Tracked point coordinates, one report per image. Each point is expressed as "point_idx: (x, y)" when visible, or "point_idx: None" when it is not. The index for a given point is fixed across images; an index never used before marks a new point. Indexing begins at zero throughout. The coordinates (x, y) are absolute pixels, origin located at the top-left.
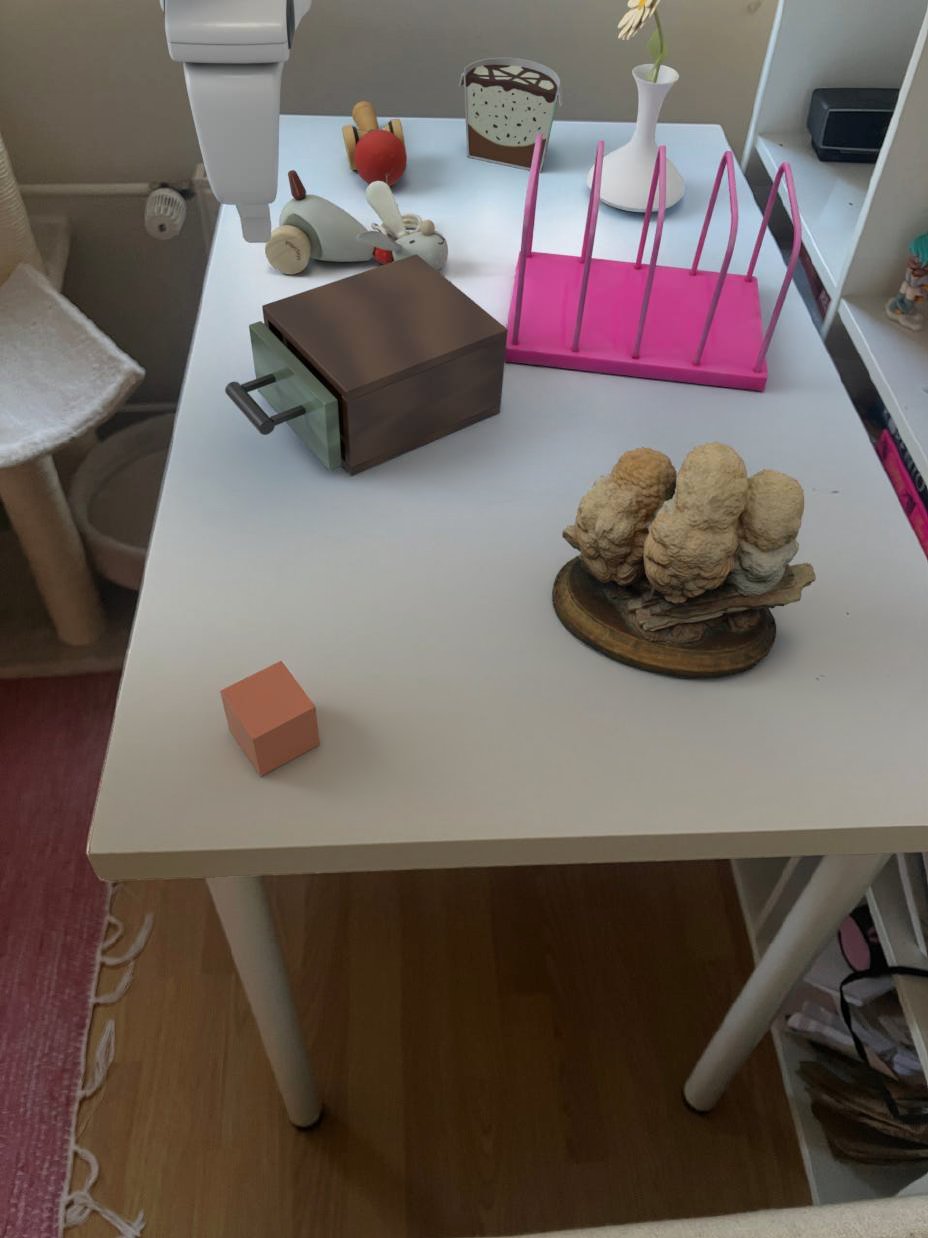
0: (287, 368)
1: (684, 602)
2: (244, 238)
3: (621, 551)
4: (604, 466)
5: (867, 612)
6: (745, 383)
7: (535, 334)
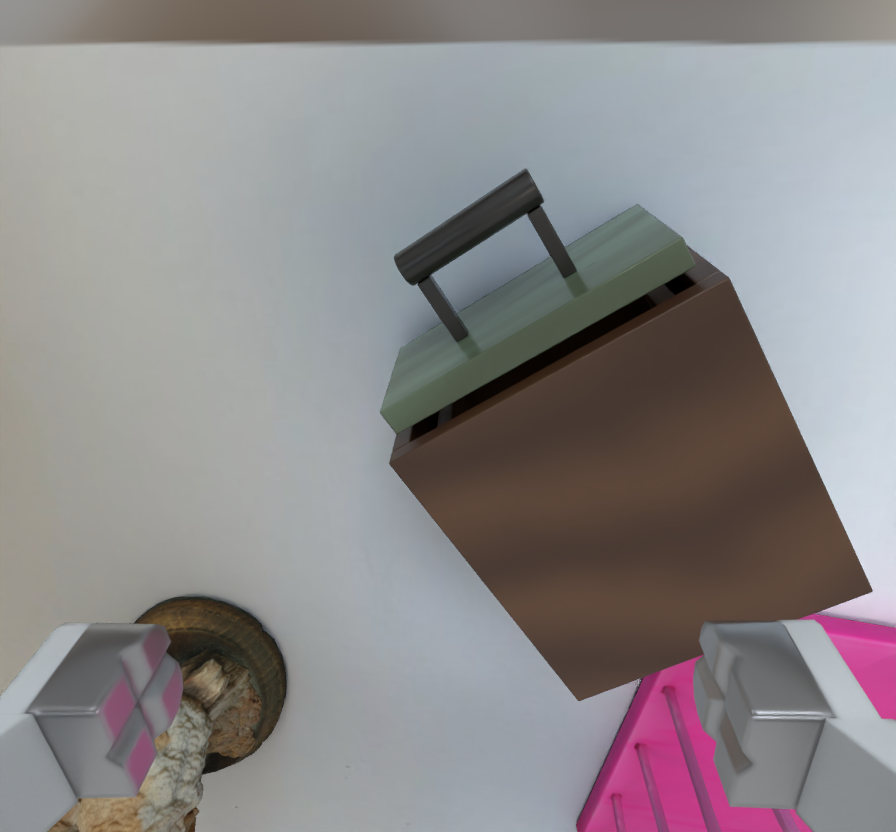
0: (509, 333)
1: None
2: (59, 627)
3: None
4: (441, 670)
5: (240, 819)
6: (582, 820)
7: None
